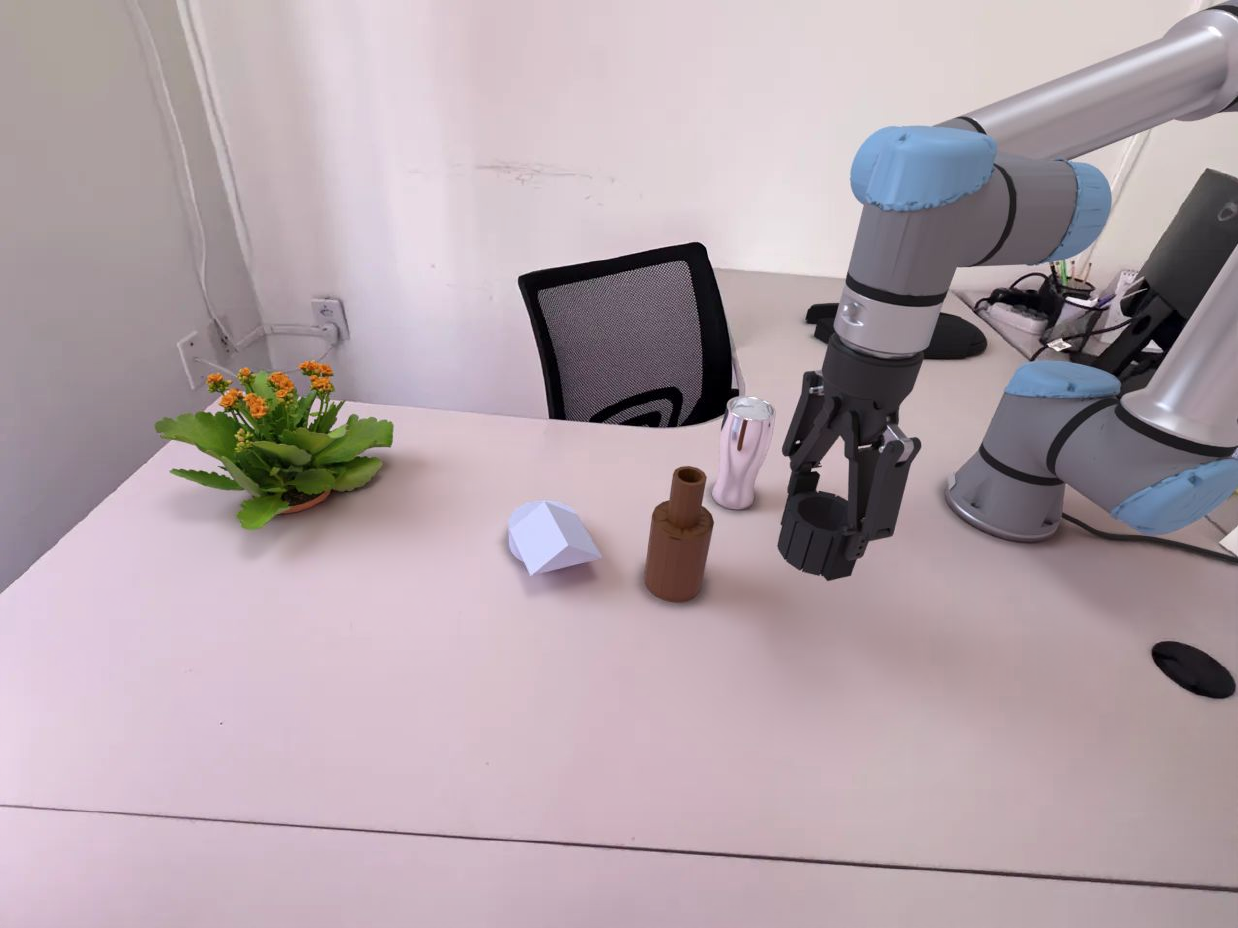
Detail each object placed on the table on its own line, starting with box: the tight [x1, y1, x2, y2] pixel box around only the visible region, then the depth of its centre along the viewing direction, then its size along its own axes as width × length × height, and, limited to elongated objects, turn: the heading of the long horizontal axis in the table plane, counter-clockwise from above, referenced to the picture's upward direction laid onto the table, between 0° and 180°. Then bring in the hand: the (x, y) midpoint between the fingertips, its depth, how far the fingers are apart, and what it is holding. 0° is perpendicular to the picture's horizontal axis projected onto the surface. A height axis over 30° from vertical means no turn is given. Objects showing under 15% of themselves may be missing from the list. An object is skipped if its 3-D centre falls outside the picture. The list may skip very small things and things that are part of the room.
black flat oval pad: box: [804, 302, 988, 359], centre depth 149 cm, size 25×40×5 cm, turn 89°
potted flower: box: [153, 360, 395, 531], centre depth 83 cm, size 25×24×18 cm
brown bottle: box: [644, 465, 715, 603], centre depth 75 cm, size 7×7×16 cm
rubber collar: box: [776, 489, 848, 577], centre depth 65 cm, size 7×7×5 cm
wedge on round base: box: [507, 499, 604, 577], centre depth 81 cm, size 9×7×13 cm
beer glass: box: [711, 395, 777, 510], centre depth 91 cm, size 7×7×15 cm
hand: (814, 548), depth 66 cm, fingers closed on rubber collar, 7 cm apart
